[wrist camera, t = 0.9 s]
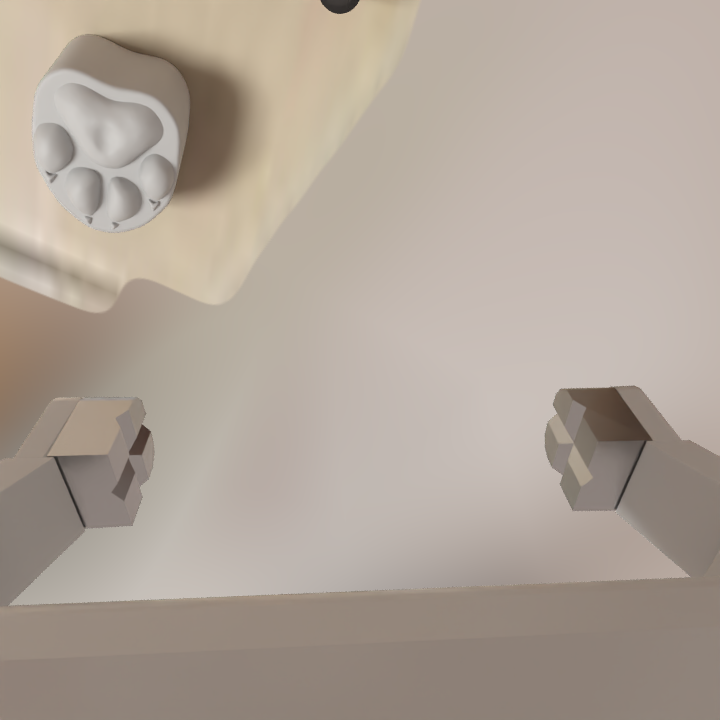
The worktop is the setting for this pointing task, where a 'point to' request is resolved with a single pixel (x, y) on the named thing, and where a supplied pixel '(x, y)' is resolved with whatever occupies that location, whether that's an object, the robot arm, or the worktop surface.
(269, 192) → the worktop surface
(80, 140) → the grey animal paw
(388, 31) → the worktop surface
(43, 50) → the worktop surface
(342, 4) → the crank
